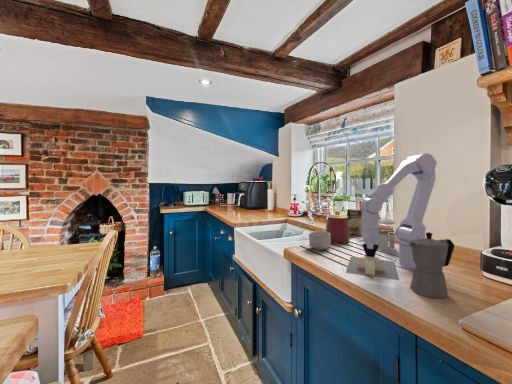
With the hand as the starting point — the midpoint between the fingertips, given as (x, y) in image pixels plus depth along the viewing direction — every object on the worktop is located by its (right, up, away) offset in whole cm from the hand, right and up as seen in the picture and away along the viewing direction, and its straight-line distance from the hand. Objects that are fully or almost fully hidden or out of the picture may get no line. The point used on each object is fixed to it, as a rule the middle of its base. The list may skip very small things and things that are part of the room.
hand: (370, 262), depth 97 cm
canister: (+2, -1, +44) cm, 44 cm away
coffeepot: (+8, -2, -22) cm, 24 cm away
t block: (-3, -1, -5) cm, 6 cm away
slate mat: (0, -2, -1) cm, 2 cm away
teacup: (-12, -1, +30) cm, 32 cm away
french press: (+20, -1, +26) cm, 33 cm away
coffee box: (+19, 0, +63) cm, 66 cm away
